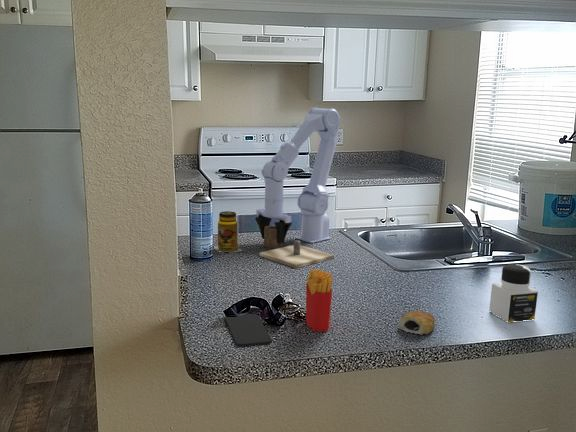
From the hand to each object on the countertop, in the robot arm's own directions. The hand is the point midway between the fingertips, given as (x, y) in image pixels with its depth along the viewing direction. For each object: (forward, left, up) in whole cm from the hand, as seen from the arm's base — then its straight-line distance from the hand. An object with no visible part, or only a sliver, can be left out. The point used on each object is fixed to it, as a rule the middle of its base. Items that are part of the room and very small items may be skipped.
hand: (272, 240), depth 184 cm
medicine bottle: (-2, +79, -2) cm, 79 cm away
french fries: (+36, +54, -2) cm, 65 cm away
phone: (+49, +46, -2) cm, 67 cm away
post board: (+3, +14, -2) cm, 14 cm away
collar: (0, 0, -2) cm, 2 cm away
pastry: (+20, +69, -2) cm, 71 cm away
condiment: (+14, -6, -2) cm, 15 cm away
